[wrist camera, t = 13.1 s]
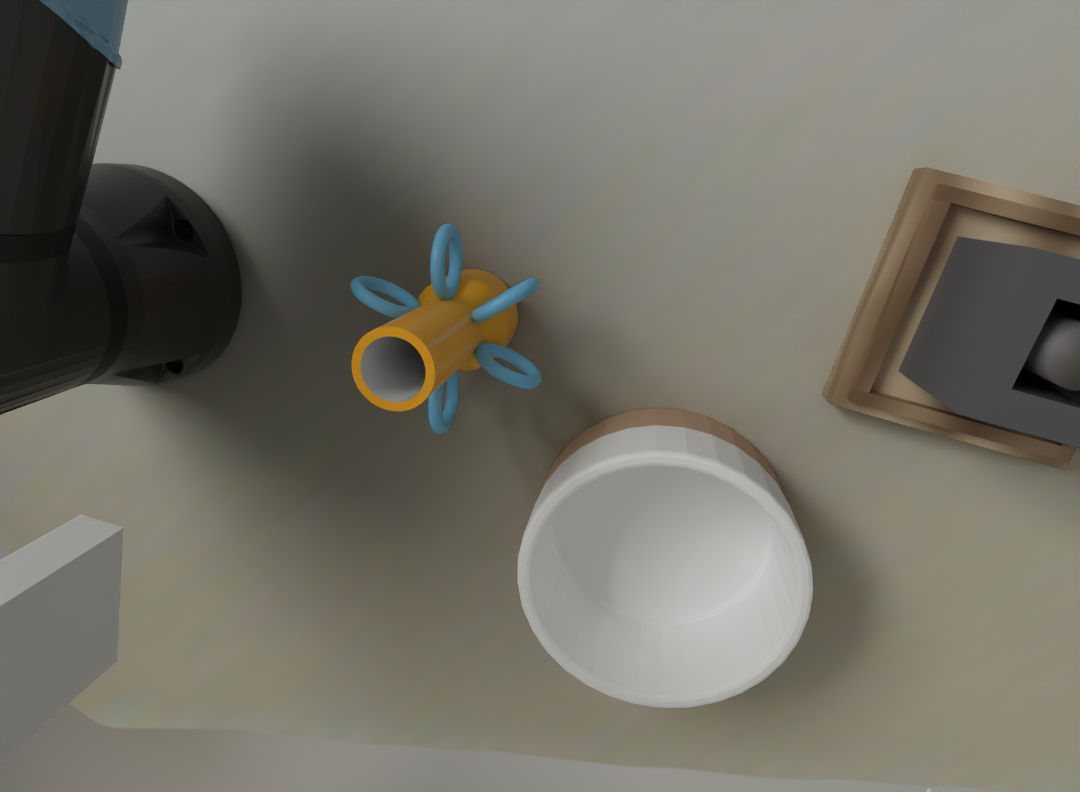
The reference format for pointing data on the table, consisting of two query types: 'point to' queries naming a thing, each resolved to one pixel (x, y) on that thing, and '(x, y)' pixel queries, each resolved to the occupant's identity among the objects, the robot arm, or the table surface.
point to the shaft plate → (907, 285)
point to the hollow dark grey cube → (997, 337)
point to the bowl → (664, 561)
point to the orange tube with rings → (439, 335)
